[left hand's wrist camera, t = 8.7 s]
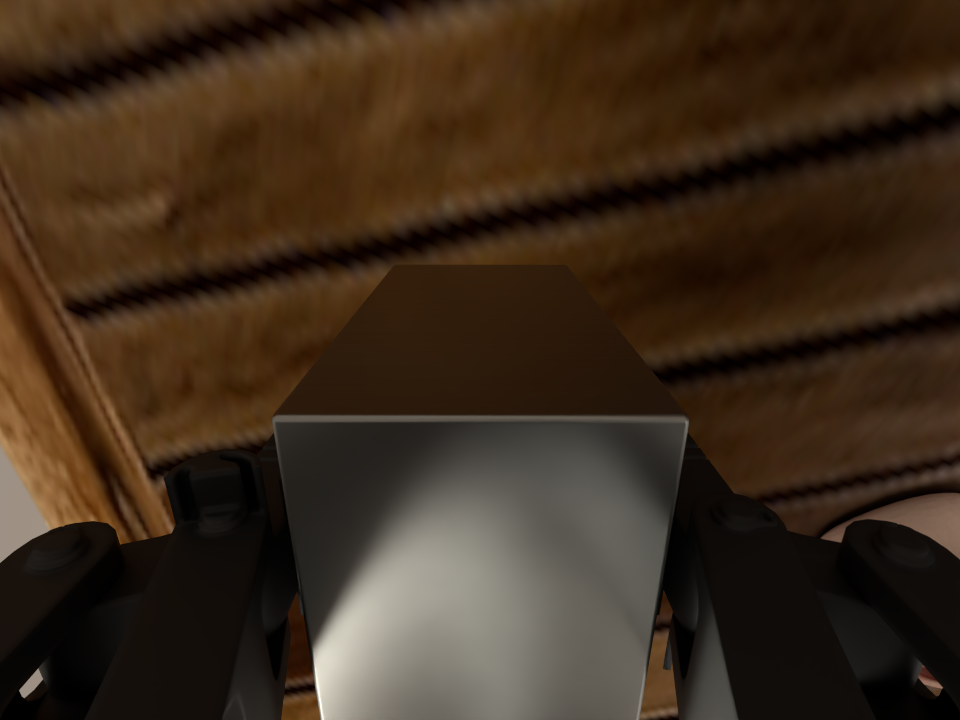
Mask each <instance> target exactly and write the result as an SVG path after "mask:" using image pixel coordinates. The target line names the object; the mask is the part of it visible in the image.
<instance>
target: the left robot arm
mask: <svg viewBox="0 0 960 720" xmlns="http://www.w3.org/2000/svg"><path fill="white" fill-rule="evenodd" d="M697 446H698V445H697V444H696V443H695V441H694V440H693V439H692V437H691V436H690V435H689V433H687V439H686V444H685V450H684V456H683V462H682V468H681V474H680V480H679V486H678V492H677V498H676V504H675V510H674V516H673V522H672V528H671V534H670V540H669V546H668V552H667V558H666V564H665V569H664V575H663V581H662V587H661V593H660V599H659V605H658V611H657V615H659V613H660V607H661V601H662V595H663V589H664V591H665V593H666V596H667V598H668V601H669V603H670V605H671V608H672V610H673V614H672V620H671V625H670V631H669V636H668V642H667V648H666V653H665V659H664V666H663V669H666V670H670V668H671V663H673V672H674V680H675V689H676V697H677V705H678V714H679V720H960V559H959V558H958V557H956V556H955V555H954V554H953V553H952V552H950V551H949V550H948V549H947V548H945V547H944V546H942V545H941V544H939V543H938V542H936V541H935V540H933V539H932V538H930V537H928V536H926V535H924V534H922V533H920V532H918V531H915V530H914V529H912V528H910V527H907V526H904V525H901V524H897V523H894V522H889V521H882V520H873V519H864V520H858V521H853V522H852V523H851V524H850V525H848V526H847V527H846V529H845V532H844V535H843V538H842V541H841V542H836V541H831V540H826V539H821V538H816V537H811V536H806V535H801V534H798V533H794V532H790V531H787V529H786V527H785V525H784V523H783V522H782V520H781V519H780V518H779V517H778V515H777V514H776V513H775V512H774V511H772V510H771V509H769V508H768V507H767V506H765V505H764V504H762V503H760V502H758V501H755V500H753V499H751V498H749V497H746V496H742V495H738V494H734V493H733V491H732V490H731V489H730V488H729V486H728V485H727V484H726V482H725V481H724V480H723V478H722V477H721V476H720V474H719V473H718V472H717V470H716V469H715V468H714V466H713V465H712V464H711V462H710V461H709V460H706V456H705V455H704V453H703V452H702V451H701V449H700V448H698V447H697ZM164 481H165V484H166V488H167V492H168V496H169V500H170V504H171V507H172V511H173V515H174V519H175V523H176V526H175V528H174V530H173V532H172V533H171V534H168V535H164V536H160V537H155V538H151V539H146V540H141V541H136V542H131V543H126V544H121V545H120V543H119V540H118V537H117V534H116V530H115V529H114V528H113V527H111V526H110V525H109V524H108V523H102V522H95V521H91V522H82V523H73V524H69V525H65V526H64V527H62V526H61V527H58V528H55V529H52V530H50V531H48V532H47V533H45V534H42V535H40V536H38V537H36V538H34V539H32V540H30V541H29V542H27V543H26V544H24V545H23V546H21V547H20V548H18V549H17V550H16V551H14V552H13V553H12V554H10V555H9V556H8V557H7V558H6V559H5V560H3V561H2V562H1V563H0V720H281V715H282V707H283V698H284V690H285V681H286V673H287V664H288V656H289V648H290V639H291V633H290V626H289V620H288V611H289V609H290V606H291V604H292V602H293V599H294V597H295V595H296V592H297V593H298V599H299V605H300V611H301V615H304V614H303V608H302V601H301V595H300V589H299V583H298V577H297V571H296V564H295V558H294V552H293V546H292V540H291V534H290V528H289V521H288V515H287V509H286V503H285V497H284V491H283V485H282V478H281V472H280V466H279V460H278V454H277V448H276V442H275V435H274V434H273V435H272V436H271V437H270V439H269V440H268V441H267V443H266V444H265V445H264V447H263V450H261V451H260V452H259V453H258V455H257V456H256V455H255V454H254V453H252V452H249V451H245V450H240V449H227V450H218V451H213V452H208V453H204V454H201V455H199V456H196V457H193V458H190V459H188V460H186V461H184V462H183V463H181V464H179V465H178V466H176V467H174V468H173V469H172V470H171V471H170V472H169V473H168V474H167V475H166V476H165V478H164ZM923 666H924V667H925V668H926V669H927V670H928V671H929V673H930V674H931V675H932V676H933V677H934V678H935V679H936V680H937V682H938V683H939V684H940V685H941V686H942V687H943V689H942V691H941V693H940V695H939V696H938V697H937V696H935V695H934V694H933V693H932V692H931V691H930V690H929V689H928V688H927V687H926V686H925V685H924V684H923V683H922V681H921V680H920V679H919V678H918V676H919V674H920V672H921V669H922V667H923ZM38 668H39V670H40V673H41V675H42V677H43V680H42V681H41V683H40V684H39V685H38V686H37V687H36V689H35V690H34V691H32V692H31V693H30V694H29V695H28V696H27V697H26V698H23V697H22V696H21V694H20V692H19V690H20V688H21V687H22V686H23V685H24V684H25V683H26V682H27V680H28V679H29V678H30V677H31V676H32V675H33V674H34V672H35V671H36V670H37V669H38Z"/></svg>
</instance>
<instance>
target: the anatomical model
mask: <svg viewBox="0 0 960 720" xmlns="http://www.w3.org/2000/svg"><path fill="white" fill-rule="evenodd" d="M864 519H873V520H882V521H889V522H894V523H897V524H901V525H904V526H907V527H910V528H912V529H914V530H915V531H918V532H920V533H922V534H924V535H926V536H928V537H930V538H932V539H933V540H935V541H936V542H938V543H939V544H941V545H942V546H944V547H945V548H947V549H948V550H949V551H950V552H952V553H953V554H954V555H955V556H956V557H958V558H959V559H960V493H936V494H928V495H923V496H918V497H913V498H909V499H905V500H902V501H898V502H895V503H892V504H889V505H886V506H883V507H880V508H877V509H874V510H872V511H869V512H867V513H864V514H862V515H859V516H857V517H854V518H852V519H850V520H848V521H846V522H844V523H842V524H840V525H838V526H836V527H834V528H833V529H831V530H830V531H828V532H827V533H825V534H824V535H823V536H822V537H821V539H826V540H831V541H836V542H841V541H842V538H843V535H844V532H845V529H846V527H847V526H848V525H850V524H851V523H852V522H853V521H858V520H864ZM918 678H919V679H920V680H921V681H922V683H923V684H924V685H928V686H933V687H937V688H943V687H942V686H941V685H940V684H939V683H938V682H937V680H936V679H935V678H934V677H933V676H932V675H931V674H930V673H929V671H928V670H927V669H926V668H925V667H924V666H923V667H922V669H921V672H920V674H919V676H918Z"/></svg>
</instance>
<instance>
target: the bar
mask: <svg viewBox="0 0 960 720" xmlns="http://www.w3.org/2000/svg"><path fill="white" fill-rule="evenodd" d="M272 423H273V429H274V435H275V442H276V448H277V454H278V460H279V466H280V472H281V478H282V485H283V491H284V497H285V503H286V509H287V515H288V521H289V528H290V534H291V540H292V546H293V552H294V558H295V564H296V571H297V577H298V583H299V589H300V595H301V601H302V608H303V614H304V620H305V626H306V632H307V638H308V644H309V651H310V657H311V663H312V669H313V675H314V681H315V687H316V694H317V700H318V706H319V712H320V718H321V720H639V718H640V712H641V706H642V700H643V695H644V689H645V683H646V677H647V671H648V665H649V659H650V653H651V647H652V641H653V635H654V629H655V623H656V617H657V611H658V605H659V599H660V593H661V587H662V581H663V575H664V569H665V564H666V558H667V552H668V546H669V540H670V534H671V528H672V522H673V516H674V510H675V504H676V498H677V492H678V486H679V480H680V474H681V468H682V462H683V456H684V450H685V444H686V439H687V433H688V427H689V417H688V415H687V414H686V413H685V411H684V410H683V409H682V408H681V406H680V405H679V404H678V403H677V401H676V400H675V399H674V398H673V396H672V395H671V394H670V393H669V391H668V390H667V389H666V388H665V387H664V385H663V384H662V383H661V382H660V380H659V379H658V378H657V377H656V375H655V374H654V373H653V372H652V370H651V369H650V368H649V367H648V366H647V364H646V363H645V362H644V361H643V359H642V358H641V357H640V356H639V354H638V353H637V352H636V351H635V349H634V348H633V347H632V346H631V344H630V343H629V342H628V341H627V340H626V338H625V337H624V336H623V335H622V333H621V332H620V331H619V330H618V328H617V327H616V326H615V325H614V323H613V322H612V321H611V320H610V319H609V317H608V316H607V315H606V314H605V312H604V311H603V310H602V309H601V307H600V306H599V305H598V304H597V302H596V301H595V300H594V299H593V297H592V296H591V295H590V294H589V293H588V291H587V290H586V289H585V288H584V286H583V285H582V284H581V283H580V281H579V280H578V279H577V278H576V276H575V275H574V274H573V273H572V271H571V270H570V269H569V268H568V267H567V266H566V265H394V266H393V267H392V269H391V270H390V271H389V272H388V274H387V275H386V276H385V277H384V279H383V280H382V281H381V282H380V284H379V285H378V286H377V287H376V289H375V290H374V291H373V292H372V293H371V295H370V296H369V297H368V298H367V300H366V301H365V302H364V303H363V305H362V306H361V307H360V308H359V310H358V311H357V312H356V313H355V315H354V316H353V317H352V318H351V319H350V321H349V322H348V323H347V324H346V326H345V327H344V328H343V329H342V331H341V332H340V333H339V334H338V336H337V337H336V338H335V339H334V341H333V342H332V343H331V344H330V345H329V347H328V348H327V349H326V350H325V352H324V353H323V354H322V355H321V357H320V358H319V359H318V360H317V362H316V363H315V364H314V365H313V367H312V368H311V369H310V370H309V371H308V373H307V374H306V375H305V376H304V378H303V379H302V380H301V381H300V383H299V384H298V385H297V386H296V388H295V389H294V390H293V391H292V393H291V394H290V395H289V396H288V397H287V399H286V400H285V401H284V402H283V404H282V405H281V406H280V407H279V409H278V410H277V411H276V412H275V414H274V415H273V418H272Z"/></svg>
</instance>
